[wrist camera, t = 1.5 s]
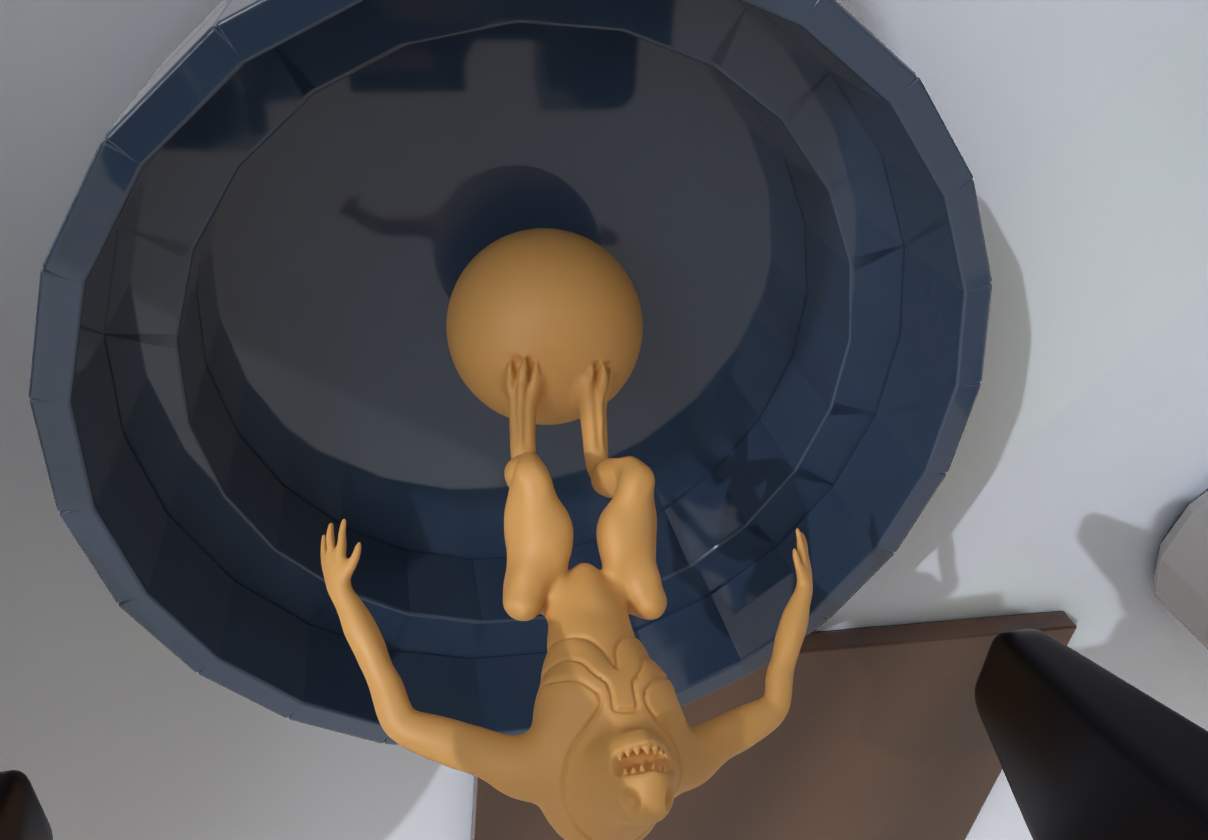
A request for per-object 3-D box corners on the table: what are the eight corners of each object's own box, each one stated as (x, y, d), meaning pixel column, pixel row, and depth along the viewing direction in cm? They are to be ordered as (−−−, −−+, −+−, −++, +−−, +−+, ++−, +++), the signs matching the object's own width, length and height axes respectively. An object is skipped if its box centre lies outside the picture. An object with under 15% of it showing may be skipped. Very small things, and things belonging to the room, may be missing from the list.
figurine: (726, 222, 21) (1056, 595, 11) (663, 444, 24) (877, 892, 14) (340, 174, 18) (320, 597, 8) (326, 428, 21) (297, 956, 12)
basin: (967, -59, 19) (1136, -22, 15) (786, 578, 28) (859, 709, 24) (16, -169, 15) (-116, -160, 11) (167, 621, 24) (127, 790, 20)
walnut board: (1063, 609, 32) (1078, 626, 31) (947, 837, 39) (957, 855, 38) (480, 660, 27) (483, 681, 26) (466, 911, 34) (468, 932, 33)
